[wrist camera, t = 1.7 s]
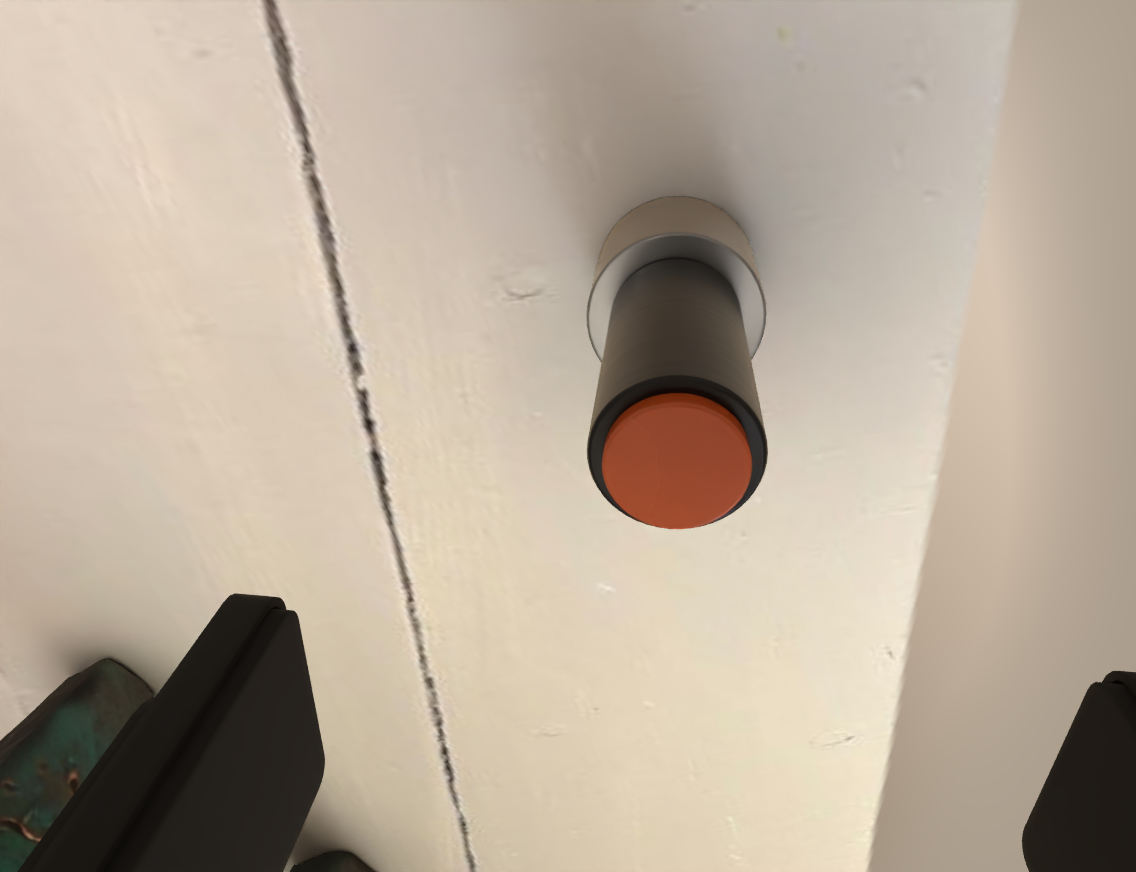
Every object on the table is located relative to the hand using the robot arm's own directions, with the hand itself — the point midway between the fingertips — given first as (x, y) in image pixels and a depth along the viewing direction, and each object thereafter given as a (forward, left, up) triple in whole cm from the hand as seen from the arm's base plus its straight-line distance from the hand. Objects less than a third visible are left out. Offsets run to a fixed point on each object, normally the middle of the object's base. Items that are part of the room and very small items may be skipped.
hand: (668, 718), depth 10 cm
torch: (0, 0, -16) cm, 16 cm away
